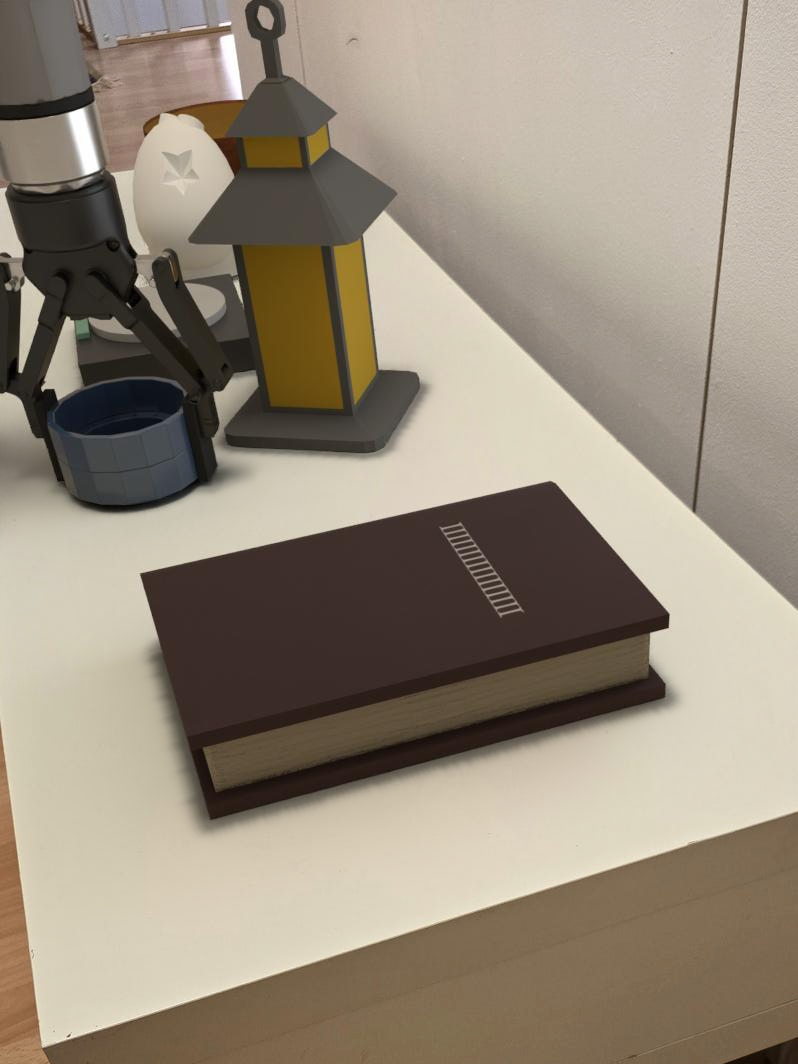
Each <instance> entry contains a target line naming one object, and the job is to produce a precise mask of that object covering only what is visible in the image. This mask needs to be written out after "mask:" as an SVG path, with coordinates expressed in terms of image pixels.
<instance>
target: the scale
mask: <svg viewBox="0 0 798 1064" xmlns="http://www.w3.org/2000/svg"><path fill="white" fill-rule="evenodd" d="M184 283H185V285H186V287H187V289H188V290H189V292H190V294H191V296H192V297H193V299H194V301H195V303H196V304H197V306H198V308H199V310H200V312H201V313H202V315H203V317H204V319H205V320H206V322H207V324H208V326H209V327H210V329H211V331H212V333H213V335H214V336H215V338H216V340H217V342H218V343H219V345H220V347H221V349H222V350H223V352H224V354H225V356H226V358H227V359H228V361H229V363H230V365H231V366H232V368H233V374H234V373H240V372H244V371H250V370H255V364H254V359H253V354H252V348H251V343H250V338H249V332H248V327H247V322H246V316H245V311H244V306H243V302H242V301H241V298H240V295H239V293H238V291H237V287H236V285H235V283H234V280H233V276H232V277H231V275H230V274H223V275H216V276H210V277H204V278H197V279H191V280H184ZM137 288H138V289H139V290H140V291H141V292H142V293H143V295H144V296H145V297H146V298H147V299H148V301H149V302H150V305H151V308H152V310H153V311H154V312H155V313H156V314H157V315H158V316H159V318H160V319H161V320H162V321H163V322H164V323H165V324H166V325H167V327H168V328H169V329H170V330H171V331H172V332H173V333H174V335H175V336H176V337H177V338H178V339H179V340H180V341H181V342H182V344H183V345H184V346H185V347H186V348H187V349H188V350H189V348H188V347H187V345H186V343H185V341H184V340H183V338H182V336H181V335H180V333H179V331H178V329H177V328H176V326H175V324H174V323H173V321H172V319H171V317H170V316H169V314H168V312H167V310H166V309H165V307H164V305H163V303H162V301H161V299H160V297H159V295H158V292H157V289H156V288H152V287H151V286H150V285H146V286H140V287H137ZM127 305H128V306H129V307H130V305H129V304H128V303H127ZM130 308H131V307H130ZM73 324H74V335H75V336H74V337H75V345H76V356H77V366H78V370H79V372H80V376H81V380H82V383H83V387H86V386H89V385H92V384H95V383H98V382H101V381H106V380H112V379H118V378H124V377H160V378H165V379H170V380H175V379H174V378H173V377H172V375H171V374H170V373H169V372H168V371H167V370H166V369H165V368H164V367H163V365H162V364H161V363H160V362H159V361H158V360H157V359H156V358H155V357H154V355H153V354H152V353H151V352H150V351H149V350H148V349H147V348H146V347H145V346H144V344H143V343H142V342H141V341H140V340H139V339H138V338H137V337H136V336H135V334H134V333H133V332H132V331H131V330H128V329H125V328H124V327H123V326H122V325H121V324H120V323H119V322H118V321H117V320H116V318H115V317H113V318H112V319H111V320H99V319H95V318H90V317H89V318H86V319H83V320H75V321H73ZM189 352H190V350H189ZM190 353H191V352H190ZM191 354H192V353H191ZM175 381H176V380H175Z"/></svg>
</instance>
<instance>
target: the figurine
mask: <svg viewBox="0 0 798 1064" xmlns="http://www.w3.org/2000/svg"><path fill="white" fill-rule="evenodd" d="M159 114H160V119H159V124H158V125H156V126H155V127H154V128H153V129H152V130H151V131H150V132H149V133H148V135H147V136H146V137H144V139H143V141H142V143H141V145H140V147H139V149H138V151H137V156H136V159H135V163H134V169H133V177H132V203H133V211H134V218H135V222H136V225H137V230H138V232H139V234H140V236H141V238H142V241H143V242H144V243H145V244H146V246H147V249H148V252H149V254H160V253H161V252H162V251H163V250H164V249H166V248H170V249H172V250H174V251H175V252H176V254H177V256H178V260H179V264H180V269H181V273H182V278H183V281H184V280H191V279H197V278H204V277H210V276H216V275H223V274H230V275H231V277H232V278H233V277H235V276H238V274H237V269H236V263H235V258H234V253H233V247H232V245H216V244H193V243H189V241H188V238H189V237H190V235H191V234H192V233H193V231H194V230H195V229H196V227H197V226H198V225H199V223H200V222H201V221H202V219H203V218H204V217H205V215H206V214H207V213H208V212H209V210H210V209H211V208H212V206H213V205H214V204H215V202H216V201H217V200H218V198H219V197H220V196H221V194H222V193H223V192H224V190H225V189H226V188H227V187H228V185H229V184H230V183H231V181H232V180H233V179H234V174H233V172H232V170H231V168H230V166H229V164H228V162H227V159H226V158H225V156H224V155H223V153H222V152H221V150H220V148H219V147H218V145H217V144H216V143H215V142H214V141H213V140H212V139H211V137H210V136H209V135H208V134H207V133H206V132H205V131H204V125H203V124H202V123H201V122H200V121H199V120H198V119H196V118H195V117H192V116H190V115H185V114H179V115H178V117H177V116H175V115H172V114H168V113H164V112H162V114H161V113H159Z"/></svg>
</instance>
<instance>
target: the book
mask: <svg viewBox="0 0 798 1064" xmlns="http://www.w3.org/2000/svg"><path fill="white" fill-rule="evenodd" d="M139 575H140V576H139V577H140V579H141V583H142V587H143V590H144V593H145V596H146V600H147V604H148V608H149V611H150V614H151V619H152V621H153V625H154V628H155V632H156V635H157V639H158V642H159V645H160V649H161V652H162V656H163V660H164V662H165V666H166V669H167V673H168V677H169V680H170V684H171V687H172V691H173V694H174V698H175V701H176V704H177V708H178V711H179V714H180V718H181V722H182V726H183V729H184V733H185V736H186V739H187V743H188V747H189V749H190V754H191V757H192V761H193V764H194V767H195V771H196V774H197V778H198V781H199V784H200V788H201V792H202V795H203V798H204V802H205V805H206V808H207V813H208V815H209V819H210V820H213V819H217V818H221V817H223V816H224V817H225V816H228V815H231V814H235V813H239V812H244V811H246V810H250V809H255V808H257V807H262V806H265V805H268V804H273V803H276V802H281V801H284V800H288V799H291V798H294V797H299V796H302V795H306V794H309V793H313V792H318V791H320V790H321V791H322V790H325V789H328V788H332V787H336V786H340V785H343V784H347V783H349V782H350V783H351V782H354V781H358V780H361V779H366V778H368V777H372V776H373V777H374V776H377V775H381V774H384V773H387V772H393V771H395V770H399V769H402V768H406V767H410V766H414V765H417V764H421V763H425V762H428V761H429V762H430V761H433V760H436V759H439V758H444V757H447V756H451V755H455V754H458V753H462V752H465V751H470V750H473V749H477V748H481V747H484V746H488V745H492V744H496V743H499V742H503V741H507V740H511V739H514V738H518V737H522V736H525V735H530V734H533V733H536V732H540V731H544V730H547V729H552V728H555V727H559V726H562V725H563V726H564V725H567V724H569V723H574V722H576V721H581V720H585V719H588V718H591V717H596V716H599V715H603V714H607V713H611V712H615V711H618V710H622V709H626V708H630V707H633V706H636V705H637V706H638V705H641V704H644V703H647V702H651V701H655V700H659V699H663V698H666V687H667V686H666V685H667V684H666V682H665V681H664V679H662V677H661V676H660V675H659V673H658V672H657V671H656V670H655V668H654V667H653V666H652V665H651V663H650V647H651V634H652V633H656V632H660V631H664V630H667V629H670V616H671V614H670V612H669V611H668V609H666V607H665V606H664V605H663V604H662V603H661V602H660V601H659V599H657V597H656V596H655V595H654V593H652V592H651V590H650V589H648V587H647V586H646V585H645V583H643V581H642V580H641V579H640V578H639V577H638V576H637V575H636V573H635V572H634V571H633V570H632V568H631V567H630V566H629V565H628V564H627V563H626V562H625V561H624V559H623V558H622V557H621V556H620V555H619V554H618V552H616V550H614V548H613V546H611V545H610V543H608V541H607V540H606V539H605V538H604V537H603V535H602V534H601V533H600V532H599V531H598V530H597V528H596V527H594V525H593V524H592V523H591V522H590V521H589V519H588V518H587V517H586V516H585V515H584V514H583V512H581V510H580V509H579V508H578V507H577V506H576V505H575V504H574V502H573V501H572V500H571V499H570V498H569V496H568V495H567V494H566V493H565V492H564V491H563V490H562V489H561V487H560V486H559V485H558V484H557V483H556V482H554V481H552V480H548V481H544V482H540V483H539V482H538V483H535V484H529V485H526V486H522V487H517V488H513V489H507V490H504V491H500V492H499V491H498V492H494V493H490V494H485V495H481V496H476V497H472V498H469V499H464V500H458V501H454V502H449V503H446V504H441V505H437V506H433V507H428V508H423V509H420V510H414V511H411V512H406V513H402V514H397V515H392V516H387V517H384V518H380V519H374V520H371V521H366V522H362V523H357V524H353V525H348V526H344V527H339V528H335V529H330V530H326V531H321V532H317V533H313V534H309V535H304V536H299V537H296V538H295V537H294V538H291V539H287V540H286V539H285V540H282V541H277V542H273V543H268V544H264V545H260V546H255V547H250V548H246V549H242V550H237V551H233V552H229V553H225V554H219V555H215V556H211V557H207V558H202V559H197V560H193V561H188V562H185V563H184V562H183V563H180V564H175V565H171V566H165V567H162V568H157V569H153V570H149V571H144V572H140V573H139Z"/></svg>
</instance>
